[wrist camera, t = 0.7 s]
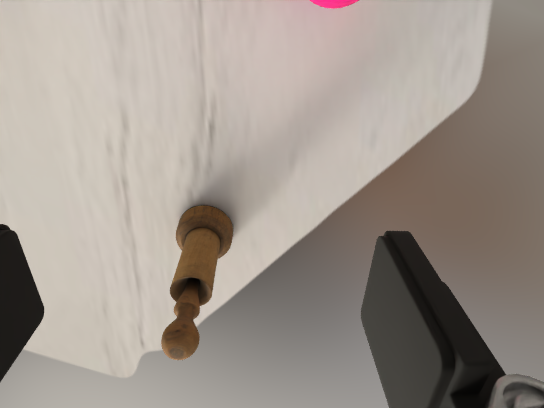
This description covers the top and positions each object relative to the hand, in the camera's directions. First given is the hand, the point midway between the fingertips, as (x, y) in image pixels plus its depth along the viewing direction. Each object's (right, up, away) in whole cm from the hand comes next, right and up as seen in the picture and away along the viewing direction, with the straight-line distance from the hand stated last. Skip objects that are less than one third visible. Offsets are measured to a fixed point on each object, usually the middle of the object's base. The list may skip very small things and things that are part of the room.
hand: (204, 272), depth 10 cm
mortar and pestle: (-6, -1, +34) cm, 35 cm away
